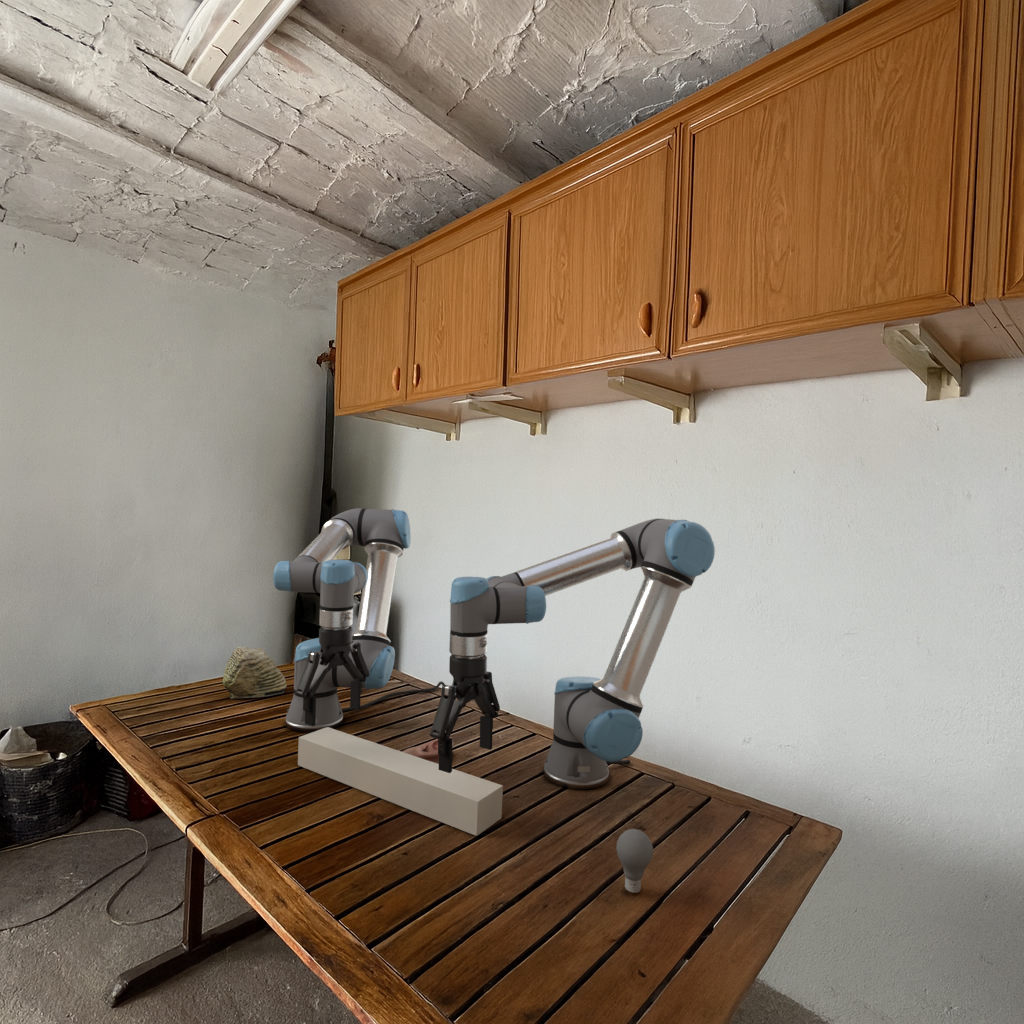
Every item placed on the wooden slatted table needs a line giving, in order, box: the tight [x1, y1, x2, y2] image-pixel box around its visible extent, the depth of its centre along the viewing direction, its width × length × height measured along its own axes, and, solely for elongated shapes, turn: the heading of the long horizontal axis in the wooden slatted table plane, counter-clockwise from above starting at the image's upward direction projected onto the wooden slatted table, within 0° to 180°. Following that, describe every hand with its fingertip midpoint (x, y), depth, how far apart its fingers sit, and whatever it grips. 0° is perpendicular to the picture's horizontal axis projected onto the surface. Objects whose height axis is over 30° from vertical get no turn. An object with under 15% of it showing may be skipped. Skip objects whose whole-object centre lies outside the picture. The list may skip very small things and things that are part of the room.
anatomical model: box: [401, 736, 454, 764], centre depth 156 cm, size 13×4×12 cm
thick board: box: [297, 727, 504, 837], centre depth 138 cm, size 52×9×7 cm, turn 57°
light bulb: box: [615, 828, 654, 894], centre depth 106 cm, size 6×6×10 cm
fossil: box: [222, 646, 288, 699], centre depth 198 cm, size 9×18×15 cm, turn 132°
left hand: (333, 716), depth 149 cm, fingers open, 13 cm apart
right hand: (466, 759), depth 128 cm, fingers open, 13 cm apart
